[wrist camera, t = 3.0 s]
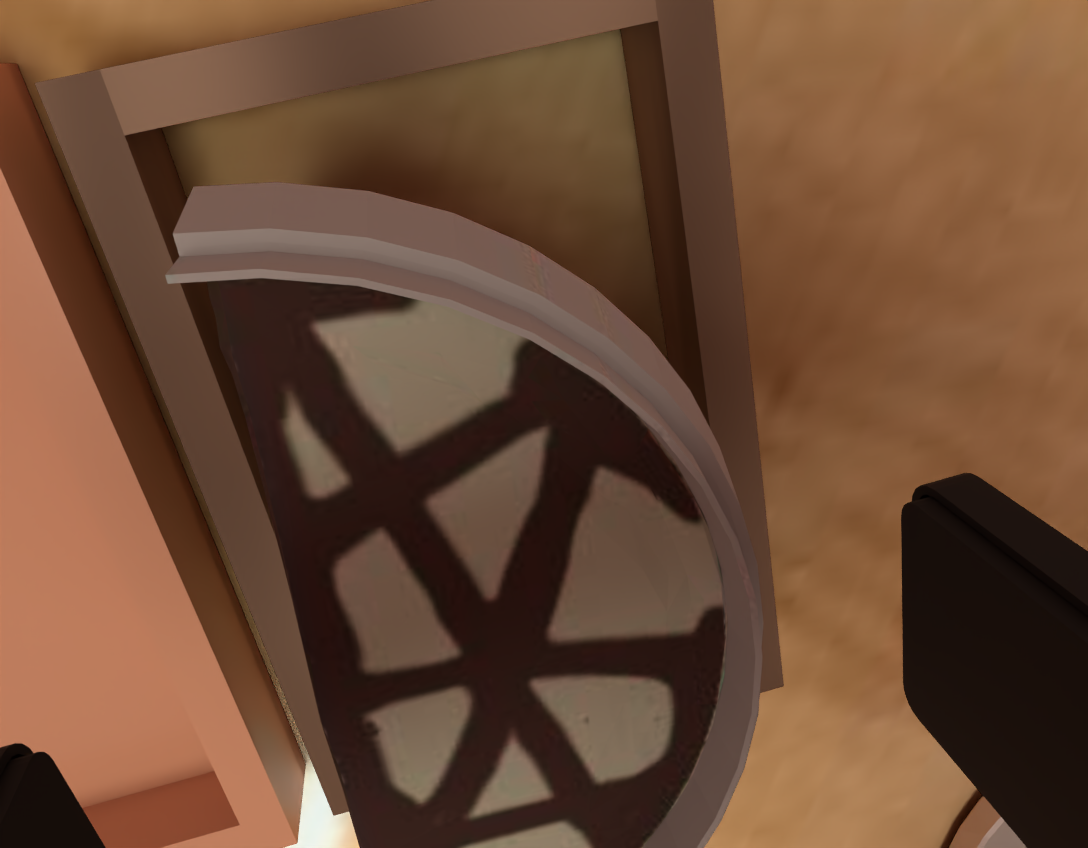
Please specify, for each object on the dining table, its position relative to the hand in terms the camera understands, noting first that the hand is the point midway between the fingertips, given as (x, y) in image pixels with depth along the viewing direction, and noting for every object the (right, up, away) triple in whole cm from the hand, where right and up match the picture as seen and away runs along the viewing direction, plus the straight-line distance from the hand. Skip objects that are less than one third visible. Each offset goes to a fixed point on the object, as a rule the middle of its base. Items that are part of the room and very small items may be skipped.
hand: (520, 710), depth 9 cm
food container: (-1, +4, +10) cm, 11 cm away
